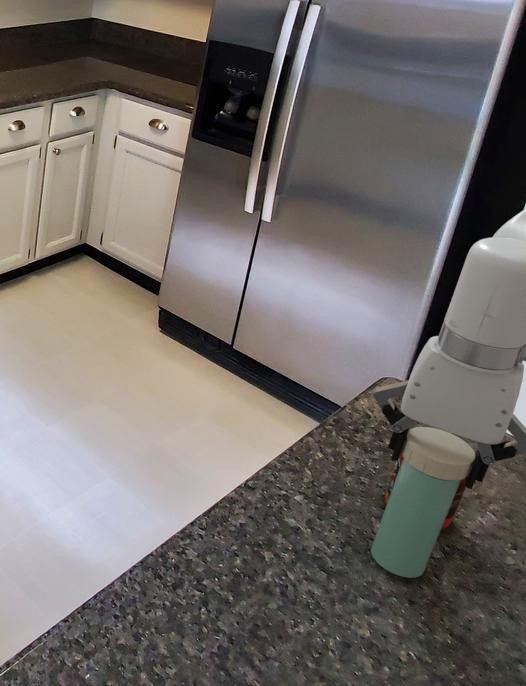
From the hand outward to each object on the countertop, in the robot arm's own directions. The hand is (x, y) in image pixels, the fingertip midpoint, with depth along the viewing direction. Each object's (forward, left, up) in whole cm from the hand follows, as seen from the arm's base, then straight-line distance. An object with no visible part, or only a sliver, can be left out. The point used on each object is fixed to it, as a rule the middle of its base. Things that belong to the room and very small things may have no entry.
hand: (431, 467), depth 97 cm
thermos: (0, 0, -15) cm, 15 cm away
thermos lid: (0, 0, +3) cm, 3 cm away
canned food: (-7, -9, -16) cm, 19 cm away
